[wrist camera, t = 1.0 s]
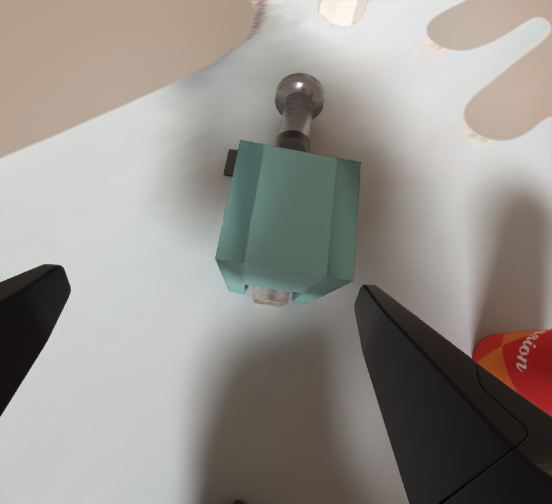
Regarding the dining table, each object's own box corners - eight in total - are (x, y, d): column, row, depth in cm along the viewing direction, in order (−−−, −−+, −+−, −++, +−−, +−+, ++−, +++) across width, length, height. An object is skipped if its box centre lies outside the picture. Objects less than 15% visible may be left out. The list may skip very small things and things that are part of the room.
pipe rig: (335, 315, 22) (358, 310, 17) (197, 294, 21) (184, 283, 17) (349, 129, 27) (370, 87, 22) (239, 108, 26) (237, 60, 22)
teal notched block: (307, 303, 21) (353, 280, 12) (228, 291, 21) (215, 258, 12) (315, 230, 23) (360, 162, 14) (242, 218, 23) (240, 140, 14)
